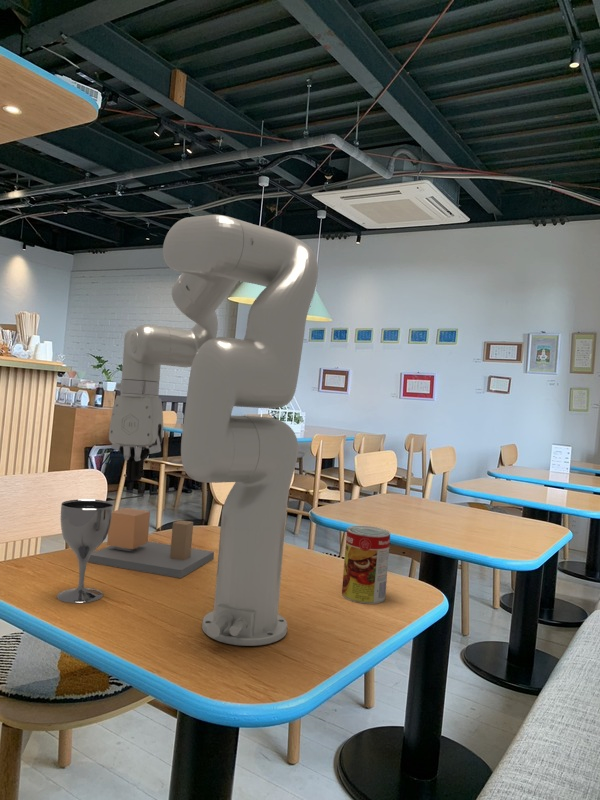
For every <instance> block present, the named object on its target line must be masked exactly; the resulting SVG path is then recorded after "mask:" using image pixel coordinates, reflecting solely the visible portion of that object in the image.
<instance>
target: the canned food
mask: <svg viewBox="0 0 600 800" xmlns="http://www.w3.org/2000/svg"><path fill="white" fill-rule="evenodd" d="M345 537H346V538H345V551H344V562H343V563H344V564H343V573H342V574H343V575H342V576H343V577H342V585H341V586H342V587H341V595H342V597H343V599H346V600H348V601H351V602H354V603H357V604H364V605H365V604H366V605H375V604H380V603H383V602H384V601H386V594H387V593H386V592H387V582H388V580H387V579H388V569H389V568H388V567H389V566H388V565H389V554H390V542H391V532H390V531H389V530H387V529H383V528H381V527H377V526H371V525H369V526H367V525H352V526H351V525H350V526H348V527H347V528H346V536H345Z"/></svg>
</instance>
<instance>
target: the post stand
mask: <svg viewBox="0 0 600 800" xmlns="http://www.w3.org/2000/svg"><path fill="white" fill-rule="evenodd" d="M171 530H172V532H171V539H170V540H171V543H170V544H167V543H160V542H156V541H155V542H154V541H149V540H148V543H146V544H144V545H141V546H139V547H138V548H137V549H134V550H132V551H123V550H117V547H116V546H110V545H108V546H107V547H103V548H101V549H98V550H95V551H94V552H93V553H92V554H91V556H90V557H89V559H88V561H87V563H89V564H96V565H100V566H106V567H107V566H109V567H114V568H120V569H126V570H131V571H136V572H142V573H146V574H147V573H149V574H153V575H159V576H160V575H161V576H164V577H166V576H167V577H169V578H170V577H171V578H177V579H182V578H184V577H186V576H188V575H189V574H190V573H193V572H194V571H195V570H197V569H199V568H200V567H203V566H204V565H206V564H207V563H209V562H211V561H212V560H214V558H215V556H214V555H215V551H212V550H205V549H200V548H199V549H198V548H193V546H192V545H193V532H194V531H193V530H194V521H191V520H190V521H188V520H183V519H182V520H181V519H180V520H176V521H174V522H172V529H171Z"/></svg>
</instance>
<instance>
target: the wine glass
mask: <svg viewBox="0 0 600 800" xmlns="http://www.w3.org/2000/svg"><path fill="white" fill-rule="evenodd" d="M113 508H114V503H112V502H110V501H107V500H101V499H90V498H89V499H87V498H86V499H85V498H83V499H80V498H79V499H69V500H65V501H63V502H61V504H60V529H61V533H62V534H61V535H62V537H63V540H64V541H65V544H67V545H68V547H69V548H70V549H71V550H72V551H73V553H74V554H75V556H76V559H77V560H78V561H77V562H78V572H79V573H78V574H79V576H78V586H77V588H70V589H65V590H62V591H60V592H58V594H57V595H56V598H57V600H59V601H61V602H64V603H68V604H86V603H91V602H92V603H93V602H95V601H98V600H100V599H102V598H103V597H104V593H103V592H102V591H101V590H99V589H96V588H91V587H85V586H84V585H85V583H84V582H85V574H86V571H87V570H86V569H87V564H88V562H87V561H88V559H89V557H90V556H91V554H92V553H93V552H96V551H97V549H98V547H100V546H101V545H102V544H103V542H105V540H106V538H108V531H109V528H110V524H111V519H112V511H114V510H113Z"/></svg>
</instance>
